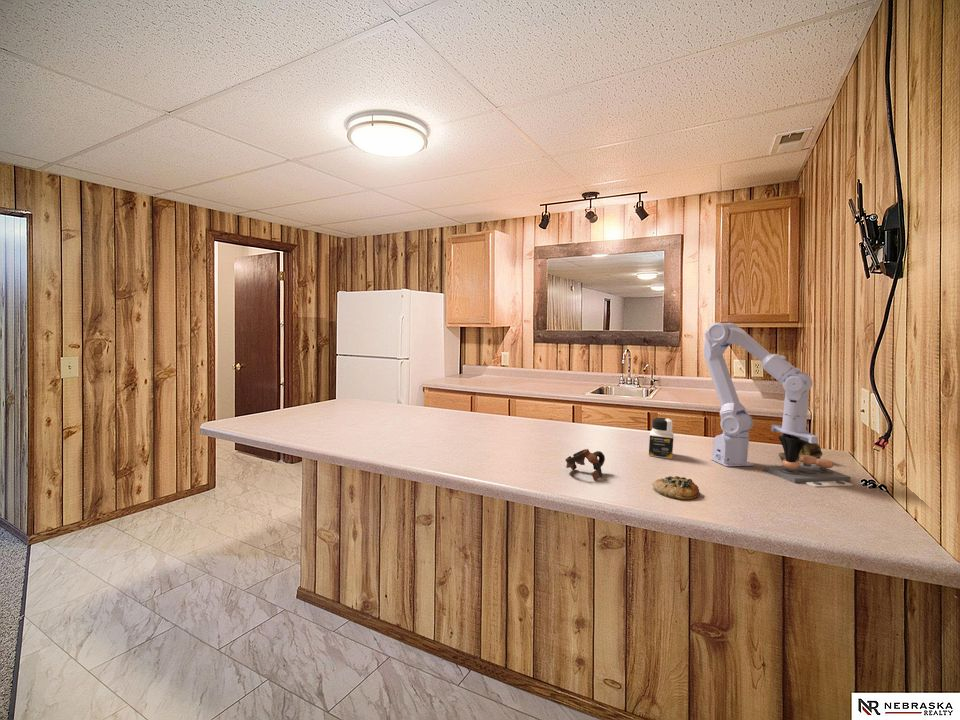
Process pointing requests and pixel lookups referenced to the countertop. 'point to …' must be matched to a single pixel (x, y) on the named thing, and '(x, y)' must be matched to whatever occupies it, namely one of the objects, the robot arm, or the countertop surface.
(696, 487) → the bread roll
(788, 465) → the button
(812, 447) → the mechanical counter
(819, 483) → the card
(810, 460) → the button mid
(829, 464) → the button
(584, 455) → the brown jointed linkage
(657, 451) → the medicine bottle
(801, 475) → the board
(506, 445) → the countertop surface
